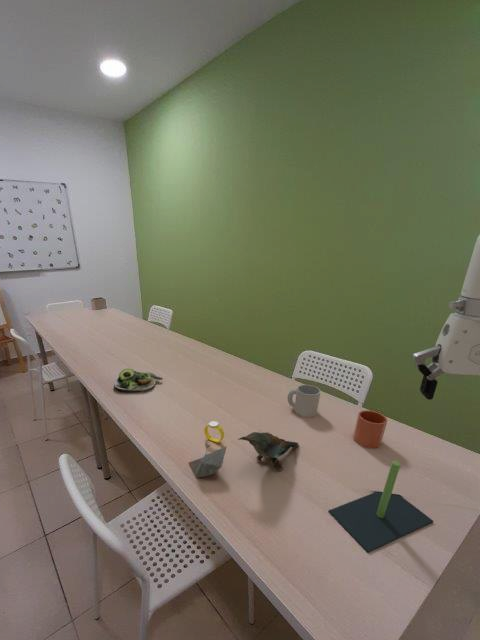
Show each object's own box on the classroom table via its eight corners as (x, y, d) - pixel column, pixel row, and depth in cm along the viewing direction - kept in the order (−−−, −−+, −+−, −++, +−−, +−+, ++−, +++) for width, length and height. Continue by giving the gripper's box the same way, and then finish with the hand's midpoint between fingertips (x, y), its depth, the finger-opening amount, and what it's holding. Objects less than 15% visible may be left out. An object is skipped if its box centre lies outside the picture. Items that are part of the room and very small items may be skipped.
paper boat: (181, 478, 74) (180, 447, 81) (195, 489, 77) (194, 458, 84) (223, 461, 70) (219, 429, 77) (236, 473, 73) (231, 442, 80)
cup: (314, 421, 97) (318, 396, 93) (283, 413, 102) (285, 389, 98) (318, 410, 102) (322, 387, 99) (289, 403, 107) (291, 381, 104)
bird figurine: (282, 433, 90) (262, 394, 77) (310, 452, 82) (293, 411, 70) (253, 467, 87) (227, 431, 74) (279, 489, 79) (256, 453, 67)
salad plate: (165, 374, 133) (165, 364, 131) (159, 393, 117) (158, 382, 115) (123, 374, 134) (121, 364, 133) (110, 393, 118) (109, 382, 116)
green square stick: (382, 513, 64) (399, 461, 58) (384, 518, 63) (401, 466, 57) (375, 512, 64) (391, 460, 59) (377, 517, 63) (393, 465, 57)
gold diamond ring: (225, 441, 88) (225, 424, 86) (220, 446, 86) (221, 429, 84) (207, 435, 91) (207, 418, 89) (203, 439, 89) (202, 422, 87)
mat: (388, 488, 71) (389, 486, 71) (432, 522, 62) (433, 520, 62) (328, 511, 65) (328, 510, 65) (367, 552, 56) (368, 551, 56)
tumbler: (376, 436, 89) (382, 411, 85) (383, 451, 83) (391, 425, 79) (350, 433, 90) (355, 409, 87) (355, 447, 84) (361, 422, 81)
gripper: (436, 312, 49) (411, 404, 55) (572, 313, 45) (527, 412, 51) (416, 303, 55) (396, 386, 62) (532, 303, 51) (497, 391, 58)
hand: (455, 398), depth 57 cm, fingers open, 9 cm apart
